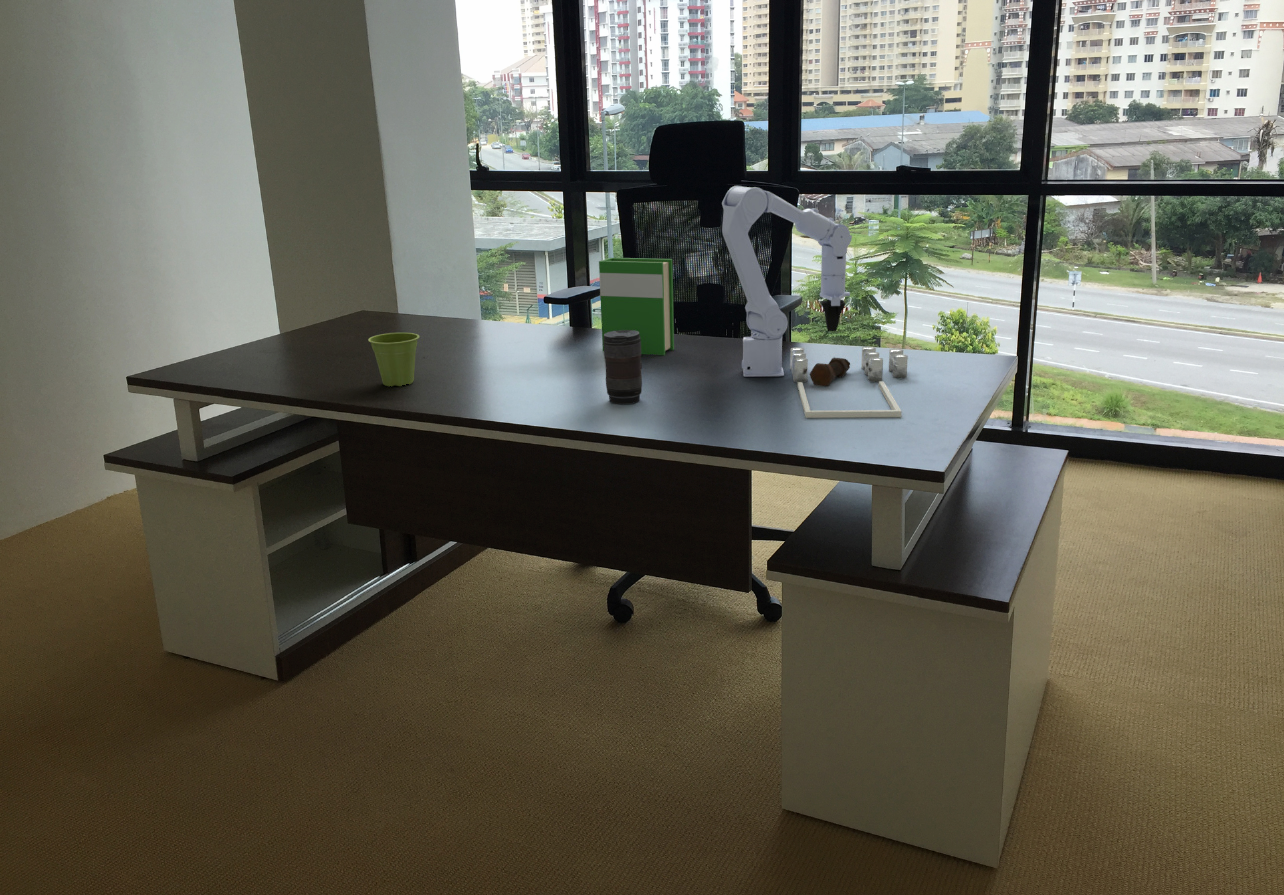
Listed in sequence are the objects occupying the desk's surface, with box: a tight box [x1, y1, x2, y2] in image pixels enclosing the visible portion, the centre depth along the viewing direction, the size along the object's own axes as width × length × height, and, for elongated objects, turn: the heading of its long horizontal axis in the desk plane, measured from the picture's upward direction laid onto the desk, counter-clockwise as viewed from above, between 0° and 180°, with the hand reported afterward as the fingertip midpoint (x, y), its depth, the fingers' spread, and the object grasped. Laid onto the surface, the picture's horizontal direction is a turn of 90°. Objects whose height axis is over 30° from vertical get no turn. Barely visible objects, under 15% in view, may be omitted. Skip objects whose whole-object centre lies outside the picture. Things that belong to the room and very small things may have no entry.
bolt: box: [809, 357, 851, 387], centre depth 237 cm, size 6×5×15 cm
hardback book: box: [598, 257, 675, 356], centre depth 270 cm, size 18×7×24 cm, turn 67°
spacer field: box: [789, 346, 909, 384], centre depth 240 cm, size 26×15×5 cm, turn 85°
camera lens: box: [603, 330, 643, 405], centre depth 222 cm, size 8×8×15 cm
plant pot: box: [368, 332, 420, 387], centre depth 244 cm, size 12×12×11 cm
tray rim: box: [797, 380, 902, 419], centre depth 218 cm, size 19×25×1 cm
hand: (831, 330), depth 248 cm, fingers closed
